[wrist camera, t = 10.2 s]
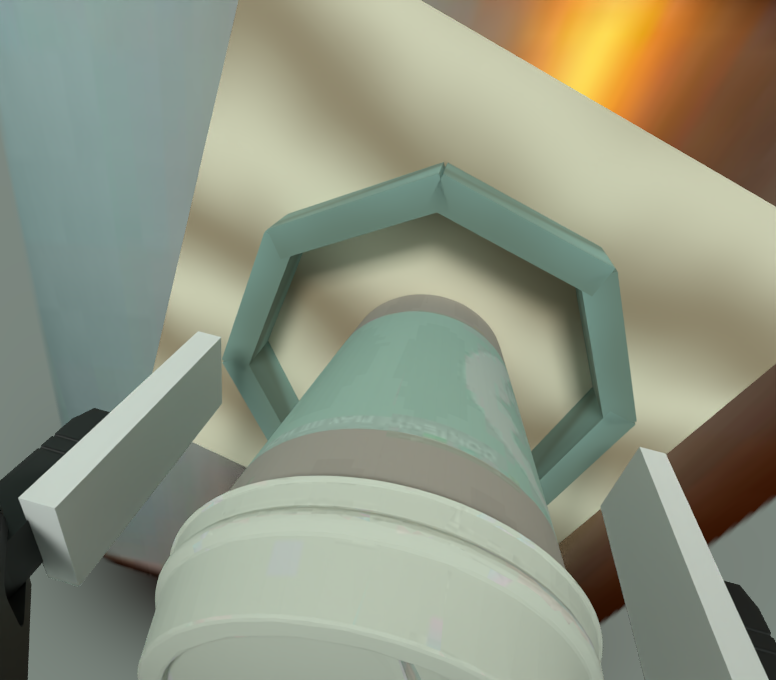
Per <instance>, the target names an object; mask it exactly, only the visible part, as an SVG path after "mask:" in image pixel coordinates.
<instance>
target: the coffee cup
mask: <svg viewBox="0 0 776 680" xmlns="http://www.w3.org/2000/svg"><path fill="white" fill-rule="evenodd" d="M155 607H156V611H155V614H154V617H153V621H152V624H151V627H150V630H149V633H148V636H147V639H146V643H145V646H144V649H143V652H142V655H141V658H140V661H139V665H138V675H137V676H138V680H604V679H603V672H602V667H601V660H602V652H603V640H602V632H601V628H600V624H599V621H598V618H597V615H596V613H595V611H594V609H593V607H592V605H591V603H590V601H589V599H588V598H587V596H586V595H585V593H584V592H583V590H582V589H581V587H580V586H579V585H578V583H577V582H576V581H575V580H574V579H573V577H572V576H571V575H570V574H569V573H568V572H567V571H566V570H565V566H564V563H563V559H562V556H561V552H560V549H559V545H558V541H557V538H556V534H555V531H554V528H553V524H552V521H551V517H550V514H549V511H548V507H547V504H546V500H545V497H544V494H543V490H542V487H541V483H540V480H539V477H538V473H537V470H536V466H535V463H534V460H533V456H532V453H531V449H530V446H529V443H528V439H527V436H526V432H525V429H524V426H523V422H522V419H521V415H520V412H519V409H518V405H517V402H516V398H515V395H514V392H513V388H512V385H511V381H510V378H509V374H508V371H507V368H506V365H505V362H504V358H503V355H502V352H501V349H500V346H499V343H498V340H497V338H496V336H495V334H494V332H493V331H492V329H491V328H490V327H489V325H488V324H487V323H486V322H485V321H484V320H483V319H482V318H481V317H480V316H479V315H478V314H477V313H475V312H474V311H473V310H471V309H470V308H468V307H467V306H465V305H463V304H461V303H459V302H457V301H454V300H451V299H448V298H445V297H441V296H436V295H427V294H415V295H407V296H402V297H398V298H395V299H392V300H390V301H387V302H385V303H383V304H381V305H380V306H378V307H377V308H375V309H374V310H373V311H371V312H370V313H369V314H368V315H367V316H366V317H365V318H364V319H363V321H362V322H361V323H360V324H359V326H358V327H357V328H356V329H355V331H354V332H353V333H352V334H351V336H350V337H349V338H348V339H347V340H346V342H345V343H344V344H343V346H342V347H341V348H340V349H339V351H338V352H337V353H336V354H335V356H334V357H333V358H332V360H331V361H330V362H329V363H328V365H327V366H326V367H325V368H324V370H323V371H322V372H321V374H320V375H319V376H318V377H317V379H316V380H315V381H314V383H313V384H312V385H311V386H310V388H309V389H308V390H307V391H306V393H305V394H304V395H303V397H302V398H301V399H300V400H299V402H298V403H297V404H296V405H295V407H294V408H293V409H292V411H291V412H290V413H289V414H288V416H287V417H286V418H285V420H284V421H283V422H282V423H281V425H280V426H279V427H278V428H277V430H276V431H275V432H274V434H273V435H272V436H271V437H270V439H269V440H268V441H267V443H266V444H265V445H264V446H263V448H262V449H261V450H260V451H259V453H258V454H257V455H256V457H255V458H254V459H253V460H252V462H251V463H250V464H249V465H248V467H247V468H246V469H245V471H244V472H243V473H242V475H241V476H240V477H239V479H238V480H237V481H236V482H235V484H234V485H233V486H232V488H231V489H230V490H229V491H228V492H227V493H224V494H222V495H220V496H218V497H216V498H214V499H213V500H211V501H209V502H208V503H206V504H205V505H203V506H202V507H201V508H199V509H198V510H197V511H196V512H195V513H193V514H192V515H191V516H190V517H189V518H188V520H187V521H186V522H185V523H184V524H183V526H182V527H181V529H180V530H179V532H178V534H177V536H176V538H175V540H174V543H173V545H172V549H171V553H170V557H169V558H168V560H167V562H166V563H165V565H164V567H163V569H162V571H161V573H160V575H159V578H158V581H157V587H156V593H155Z"/></svg>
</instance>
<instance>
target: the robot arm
mask: <svg viewBox="0 0 776 680" xmlns="http://www.w3.org/2000/svg"><path fill="white" fill-rule="evenodd" d="M221 404H222V363H221V337H219V336H215V335H211V334H207V333H204V332H200V331H198V332H197V333H196V334H194V335H193V336H192V337H191V338H190V339H189V340H188V341H187V342H186V343H185V344H184V345H183V346H182V347H180V348H179V349H178V350H177V351H176V352H175V353H174V354H173V355H172V356H171V357H170V358H169V359H167V360H166V361H165V362H164V363H163V364H162V365H161V366H160V367H159V368H158V369H157V370H156V371H155V372H153V373H152V374H151V375H150V376H149V377H148V378H147V379H146V380H145V381H144V382H143V383H142V384H140V385H139V386H138V387H137V388H136V389H135V390H134V391H133V392H132V393H131V394H130V395H129V396H128V397H126V398H125V399H124V400H123V401H122V402H121V403H120V404H119V405H118V406H117V407H116V408H115V409H114V410H112V411H111V412H107V411H103V410H99V409H96V408H94V409H91V410H89V411H87V412H85V413H83V414H81V415H79V416H77V417H75V418H73V419H71V420H70V421H69V422H68V423H67V424H66V425H64V426H63V427H62V428H61V429H60V430H59V431H57V432H56V433H55V436H54V437H53V436H52V437H50V438H49V439H48V440H47V441H46V442H45V443H43V444H42V445H41V448H40V449H37V450H35V451H34V452H33V453H32V454H31V455H29V456H28V457H27V458H26V459H25V460H24V461H22V462H21V463H20V464H19V465H18V466H17V467H15V468H14V469H13V470H12V471H11V472H10V473H8V474H7V475H6V476H5V477H4V478H3V479H1V480H0V680H28V656H29V655H28V654H29V631H30V629H29V628H30V604H31V581H30V576H31V575H32V574H33V572H34V571H35V570H36V569H37V568H38V567H39V566H40V565H41V563H43V566H44V568H45V571H46V574H47V576H48V577H49V578H52V579H55V580H59V581H62V582H65V583H69V584H72V585H75V586H80V585H81V584H82V583H83V581H84V580H85V579H86V577H87V576H88V575H89V574H90V572H91V571H92V570H93V568H94V567H95V566H96V565H97V563H98V562H99V561H100V560H101V558H102V557H103V556H104V554H105V553H106V552H107V551H108V549H109V548H110V547H111V545H112V544H113V543H114V542H115V540H116V539H117V538H118V536H119V535H120V534H121V533H122V531H123V530H124V529H125V527H126V526H127V525H128V524H129V522H130V521H131V520H132V518H133V517H134V516H135V515H136V513H137V512H138V511H139V509H140V508H141V507H142V506H143V504H144V503H145V502H146V500H147V499H148V498H149V497H150V495H151V494H152V493H153V492H154V490H155V489H156V488H157V486H158V485H159V484H160V483H161V481H162V480H163V479H164V477H165V476H166V475H167V474H168V472H169V471H170V470H171V468H172V467H173V466H174V465H175V463H176V462H177V461H178V459H179V458H180V457H181V456H182V454H183V453H184V452H185V450H186V449H187V448H188V447H189V445H190V444H191V443H192V441H193V440H194V439H195V438H196V436H197V435H198V434H199V432H200V431H201V430H202V429H203V427H204V426H205V425H206V424H207V422H208V421H209V420H210V418H211V417H212V416H213V415H214V413H215V412H216V411H217V409H218V408H219V407H220V406H221ZM600 507H601V511H602V515H603V518H604V522H605V526H606V530H607V534H608V538H609V542H610V546H611V550H612V554H613V558H614V562H615V565H616V569H617V573H618V577H619V581H620V585H621V589H622V593H623V597H624V601H625V605H626V609H627V612H628V616H629V620H630V624H631V628H632V632H633V636H634V640H635V644H636V648H637V652H638V656H639V659H640V663H641V667H642V671H643V675H644V679H645V680H776V642H775V640H774V638H772V637H771V636H770V634H771V632H770V630H769V628H768V626H767V624H766V622H765V620H764V618H763V616H762V614H761V612H760V610H759V608H758V607H757V606H756V605H755V603H754V602H753V601H752V600H751V599H750V597H749V596H748V595H747V594H746V592H745V591H744V590H743V589H742V587H741V586H740V585H737V584H734V583H730V582H726V581H723V578H722V576H721V574H720V572H719V570H718V567H717V565H716V563H715V561H714V559H713V557H712V554H711V552H710V550H709V548H708V546H707V543H706V541H705V539H704V537H703V535H702V532H701V530H700V528H699V526H698V524H697V521H696V519H695V517H694V515H693V513H692V511H691V508H690V506H689V504H688V502H687V500H686V497H685V495H684V493H683V491H682V489H681V486H680V484H679V482H678V480H677V478H676V476H675V473H674V471H673V469H672V467H671V465H670V462H669V460H668V458H667V456H666V454H665V453H662V452H658V451H654V450H650V449H646V448H642V447H639V448H638V450H637V451H636V453H635V454H634V456H633V458H632V459H631V461H630V462H629V464H628V465H627V467H626V468H625V470H624V471H623V473H622V474H621V476H620V477H619V479H618V480H617V482H616V483H615V485H614V486H613V488H612V489H611V491H610V492H609V494H608V495H607V497H606V498H605V500H604V501H603V503H602V504H601V506H600Z"/></svg>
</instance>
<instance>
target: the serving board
mask: <svg viewBox="0 0 776 680" xmlns="http://www.w3.org/2000/svg"><path fill="white" fill-rule="evenodd" d="M415 294H427V295H436V296H441V297H445V298H448V299H451V300H454V301H457V302H459V303H461V304H463V305H465V306H467V307H468V308H470V309H471V310H473V311H474V312H475V313H477V314H478V315H479V316H480V317H481V318H482V319H483V320H484V321H485V322H486V323H487V324H488V325H489V327H490V328H491V329H492V331H493V332H494V334H495V336H496V338H497V340H498V343H499V346H500V349H501V352H502V355H503V358H504V362H505V365H506V368H507V371H508V374H509V378H510V381H511V385H512V388H513V392H514V395H515V398H516V402H517V405H518V409H519V412H520V415H521V419H522V422H523V426H524V429H525V432H526V436H527V439H528V443H529V446H530V449H531V453H532V456H533V460H534V463H535V466H536V470H537V473H538V477H539V480H540V483H541V487H542V490H543V494H544V497H545V500H546V504H547V507H548V511H549V514H550V517H551V521H552V524H553V528H554V531H555V534H556V538H557V541H558V544H559V543H560V542H561V541H562V540H564V539H565V538H566V537H567V536H568V535H570V534H571V533H572V532H573V531H574V530H576V529H577V528H578V527H579V526H580V525H582V524H583V523H584V522H585V521H586V520H588V519H589V518H590V517H591V516H593V515H594V514H595V513H596V512H597V511H599V510H600V509H601V507H600V506H601V504H602V503H603V501H604V500H605V498H606V497H607V495H608V494H609V492H610V491H611V489H612V488H613V486H614V485H615V483H616V482H617V480H618V479H619V477H620V476H621V474H622V473H623V471H624V470H625V468H626V467H627V465H628V464H629V462H630V461H631V459H632V458H633V456H634V454H635V453H636V451H637V450H638V448H639V447H642V448H646V449H650V450H654V451H658V452H662V453H665V454H667V453H668V452H670V451H671V450H672V449H673V448H674V447H676V446H677V445H678V444H679V443H680V442H682V441H683V440H684V439H685V438H686V437H688V436H689V435H690V434H691V433H692V432H694V431H695V430H696V429H697V428H699V427H700V426H701V425H702V424H703V423H705V422H706V421H707V420H708V419H709V418H711V417H712V416H713V415H714V414H715V413H717V412H718V411H719V410H720V409H721V408H723V407H724V406H725V405H726V404H727V403H729V402H730V401H731V400H732V399H733V398H735V397H736V396H737V395H738V394H739V393H741V392H742V391H743V390H744V389H745V388H747V387H748V386H749V385H750V384H752V383H753V382H754V381H755V380H756V379H758V378H759V377H760V376H761V375H762V374H764V373H765V372H766V371H767V370H768V369H770V368H771V367H772V366H773V365H774V364H776V207H775V206H773V205H772V204H770V203H768V202H766V201H765V200H763V199H761V198H760V197H758V196H756V195H754V194H753V193H751V192H749V191H748V190H746V189H744V188H742V187H741V186H739V185H737V184H736V183H734V182H732V181H730V180H729V179H727V178H725V177H723V176H722V175H720V174H718V173H717V172H715V171H713V170H711V169H710V168H708V167H706V166H705V165H703V164H701V163H699V162H698V161H696V160H694V159H693V158H691V157H689V156H687V155H686V154H684V153H682V152H681V151H679V150H677V149H675V148H674V147H672V146H670V145H669V144H667V143H665V142H663V141H662V140H660V139H658V138H656V137H655V136H653V135H651V134H650V133H648V132H646V131H644V130H643V129H641V128H639V127H638V126H636V125H634V124H632V123H631V122H629V121H627V120H626V119H624V118H622V117H620V116H619V115H617V114H615V113H614V112H612V111H610V110H608V109H607V108H605V107H603V106H601V105H600V104H598V103H596V102H595V101H593V100H591V99H589V98H588V97H586V96H584V95H583V94H581V93H579V92H577V91H576V90H574V89H572V88H571V87H569V86H567V85H565V84H564V83H562V82H560V81H559V80H557V79H555V78H553V77H552V76H550V75H548V74H547V73H545V72H543V71H541V70H540V69H538V68H536V67H534V66H533V65H531V64H529V63H528V62H526V61H524V60H522V59H521V58H519V57H517V56H516V55H514V54H512V53H510V52H509V51H507V50H505V49H504V48H502V47H500V46H498V45H497V44H495V43H493V42H492V41H490V40H488V39H486V38H485V37H483V36H481V35H479V34H478V33H476V32H474V31H473V30H471V29H469V28H467V27H466V26H464V25H462V24H461V23H459V22H457V21H455V20H454V19H452V18H450V17H449V16H447V15H445V14H443V13H442V12H440V11H438V10H437V9H435V8H433V7H431V6H430V5H428V4H426V3H425V2H423V1H421V0H239V1H238V5H237V10H236V14H235V18H234V23H233V27H232V31H231V36H230V40H229V44H228V49H227V53H226V57H225V62H224V66H223V70H222V75H221V79H220V83H219V88H218V92H217V96H216V101H215V105H214V109H213V114H212V118H211V122H210V127H209V131H208V135H207V139H206V144H205V148H204V152H203V157H202V161H201V165H200V170H199V174H198V178H197V183H196V187H195V191H194V196H193V200H192V204H191V209H190V213H189V217H188V222H187V226H186V230H185V235H184V239H183V243H182V248H181V252H180V256H179V261H178V265H177V269H176V274H175V278H174V282H173V287H172V291H171V295H170V299H169V304H168V308H167V312H166V317H165V321H164V325H163V330H162V334H161V338H160V343H159V347H158V351H157V356H156V360H155V364H154V369H153V372H155V371H156V370H157V369H158V368H159V367H160V366H161V365H162V364H163V363H164V362H165V361H166V360H167V359H169V358H170V357H171V356H172V355H173V354H174V353H175V352H176V351H177V350H178V349H179V348H180V347H182V346H183V345H184V344H185V343H186V342H187V341H188V340H189V339H190V338H191V337H192V336H193V335H194V334H196V333H197V332H198V331H200V332H204V333H207V334H211V335H215V336H219V337H221V363H222V404H221V406H220V407H219V408H218V409H217V411H216V412H215V413H214V415H213V416H212V417H211V418H210V420H209V421H208V422H207V424H206V425H205V426H204V427H203V429H202V430H201V431H200V432H199V434H198V435H197V436H196V438H195V439H194V440H193V441H192V442H193V443H196V444H198V445H200V446H202V447H204V448H206V449H208V450H210V451H213V452H215V453H217V454H219V455H221V456H223V457H225V458H227V459H230V460H232V461H234V462H236V463H238V464H240V465H242V466H244V467H248V465H249V464H250V463H251V462H252V460H253V459H254V458H255V457H256V455H257V454H258V453H259V451H260V450H261V449H262V448H263V446H264V445H265V444H266V443H267V441H268V440H269V439H270V437H271V436H272V435H273V434H274V432H275V431H276V430H277V428H278V427H279V426H280V425H281V423H282V422H283V421H284V420H285V418H286V417H287V416H288V414H289V413H290V412H291V411H292V409H293V408H294V407H295V405H296V404H297V403H298V402H299V400H300V399H301V398H302V397H303V395H304V394H305V393H306V391H307V390H308V389H309V388H310V386H311V385H312V384H313V383H314V381H315V380H316V379H317V377H318V376H319V375H320V374H321V372H322V371H323V370H324V368H325V367H326V366H327V365H328V363H329V362H330V361H331V360H332V358H333V357H334V356H335V354H336V353H337V352H338V351H339V349H340V348H341V347H342V346H343V344H344V343H345V342H346V340H347V339H348V338H349V337H350V336H351V334H352V333H353V332H354V331H355V329H356V328H357V327H358V326H359V324H360V323H361V322H362V321H363V319H364V318H365V317H366V316H367V315H368V314H369V313H370V312H371V311H373V310H374V309H375V308H377V307H378V306H380V305H381V304H383V303H385V302H387V301H390V300H392V299H395V298H398V297H402V296H407V295H415Z"/></svg>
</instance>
